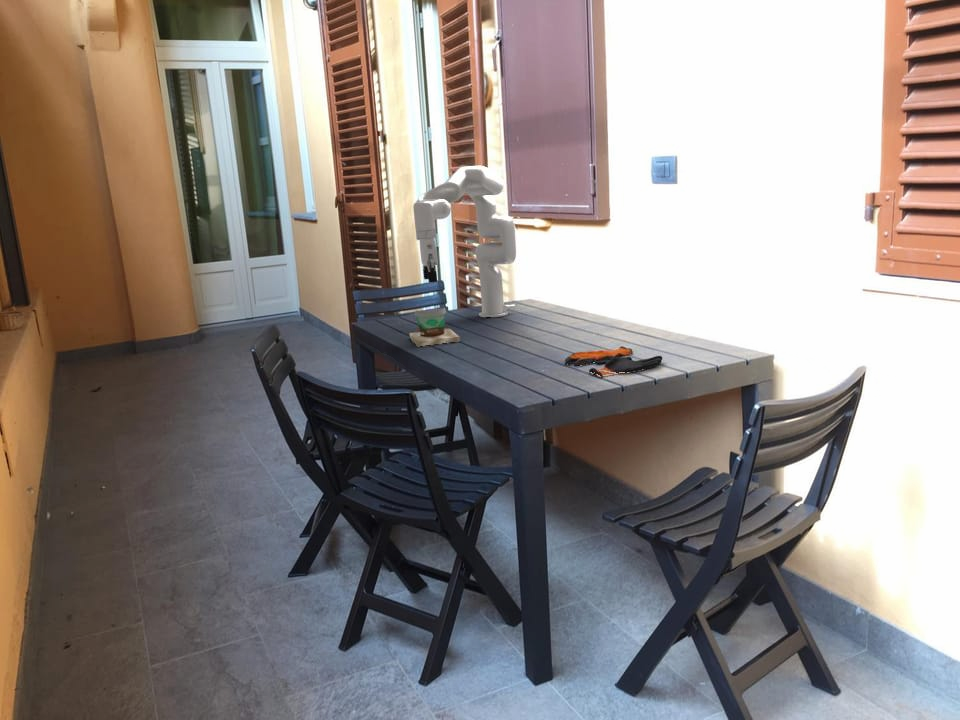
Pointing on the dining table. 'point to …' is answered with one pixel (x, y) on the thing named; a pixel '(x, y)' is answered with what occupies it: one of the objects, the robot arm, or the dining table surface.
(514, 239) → the robot arm
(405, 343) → the dining table surface
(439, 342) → the birch board
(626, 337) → the dining table surface
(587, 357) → the pair of gloves
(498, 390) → the dining table surface
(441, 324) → the food container
